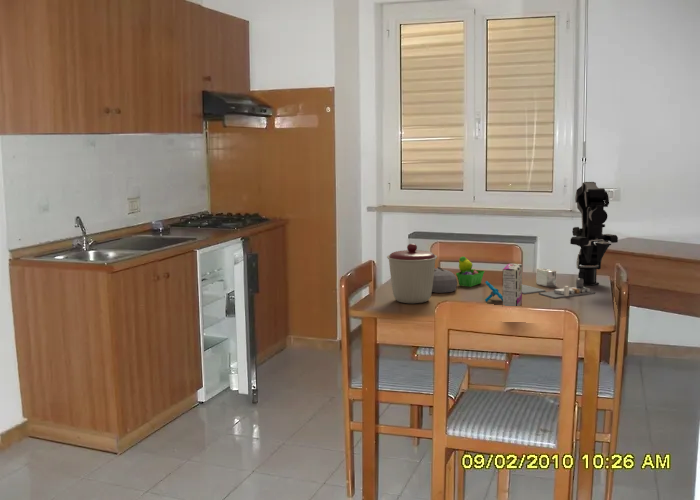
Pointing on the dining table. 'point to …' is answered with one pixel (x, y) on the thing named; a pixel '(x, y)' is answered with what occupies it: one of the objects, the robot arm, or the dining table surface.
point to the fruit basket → (468, 273)
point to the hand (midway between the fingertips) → (593, 262)
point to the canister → (412, 274)
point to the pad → (530, 289)
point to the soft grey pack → (443, 281)
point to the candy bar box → (512, 285)
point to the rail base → (566, 293)
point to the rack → (574, 288)
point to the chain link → (546, 277)
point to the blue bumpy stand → (493, 292)
